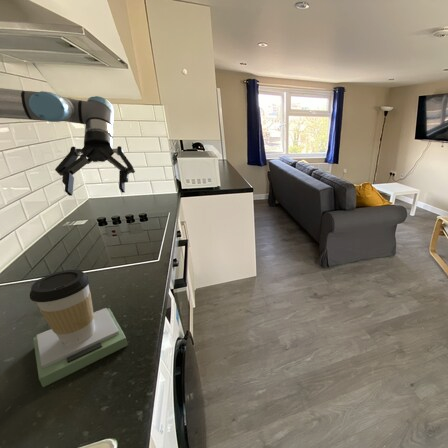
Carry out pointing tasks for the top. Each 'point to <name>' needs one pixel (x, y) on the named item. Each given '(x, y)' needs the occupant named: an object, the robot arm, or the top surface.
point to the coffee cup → (66, 305)
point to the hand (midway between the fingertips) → (96, 191)
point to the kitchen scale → (77, 348)
